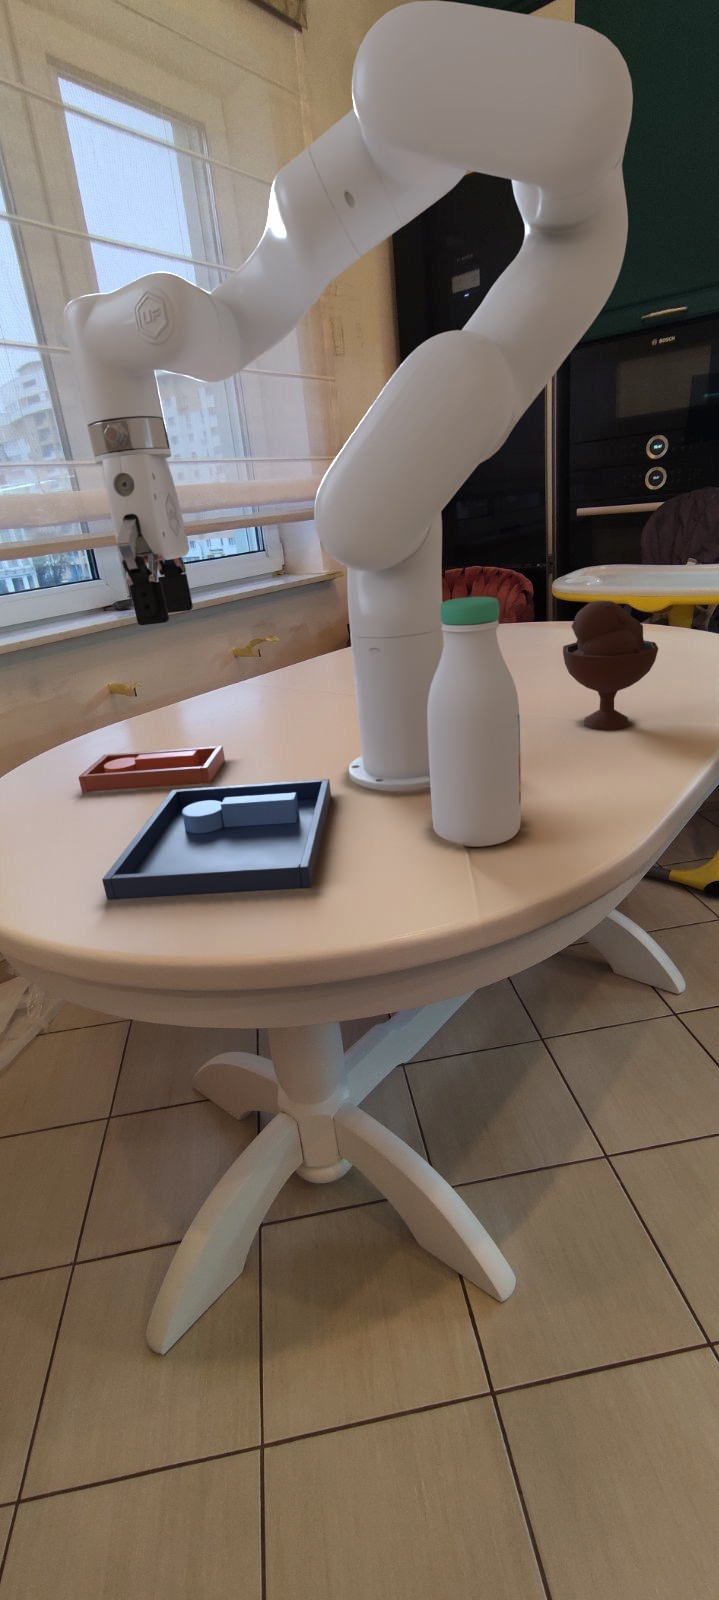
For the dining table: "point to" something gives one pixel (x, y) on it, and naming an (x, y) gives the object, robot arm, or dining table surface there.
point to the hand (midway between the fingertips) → (167, 616)
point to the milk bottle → (473, 730)
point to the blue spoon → (241, 812)
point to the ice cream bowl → (608, 657)
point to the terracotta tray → (152, 772)
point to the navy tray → (222, 847)
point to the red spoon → (154, 762)
